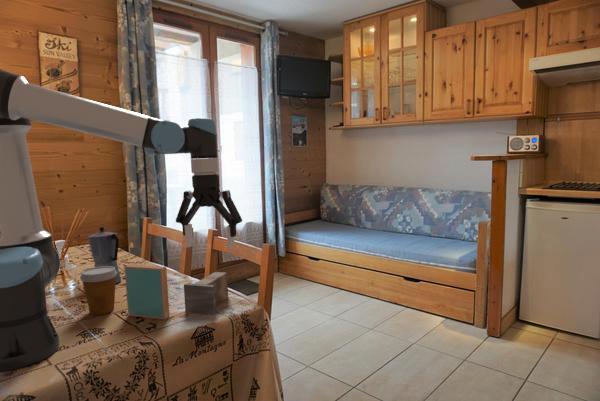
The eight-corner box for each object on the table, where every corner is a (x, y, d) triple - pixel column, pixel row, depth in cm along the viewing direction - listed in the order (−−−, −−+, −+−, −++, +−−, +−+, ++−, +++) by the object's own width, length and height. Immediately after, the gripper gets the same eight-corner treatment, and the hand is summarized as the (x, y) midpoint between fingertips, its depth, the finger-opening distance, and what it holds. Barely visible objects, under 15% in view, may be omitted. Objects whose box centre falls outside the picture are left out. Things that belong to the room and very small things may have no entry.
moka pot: (106, 276, 150) (102, 223, 147) (135, 281, 142) (131, 226, 140) (82, 284, 141) (77, 228, 139) (111, 290, 134) (106, 231, 132)
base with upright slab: (57, 268, 164) (54, 239, 162) (75, 269, 161) (72, 240, 160) (37, 275, 155) (34, 244, 154) (56, 276, 153) (53, 245, 151)
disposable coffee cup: (127, 305, 119) (123, 266, 118) (105, 318, 110) (101, 275, 109) (99, 304, 121) (95, 265, 120) (75, 316, 112) (71, 274, 110)
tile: (164, 319, 108) (161, 268, 106) (127, 315, 111) (123, 266, 110) (169, 316, 110) (166, 266, 108) (133, 312, 113) (129, 264, 112)
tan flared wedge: (213, 315, 110) (212, 286, 109) (185, 312, 113) (183, 284, 112) (235, 298, 122) (234, 273, 122) (209, 296, 125) (208, 271, 124)
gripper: (251, 172, 114) (254, 245, 116) (175, 174, 121) (180, 243, 124) (239, 173, 107) (243, 251, 109) (159, 175, 114) (165, 248, 117)
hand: (210, 247), depth 116 cm, fingers open, 13 cm apart
